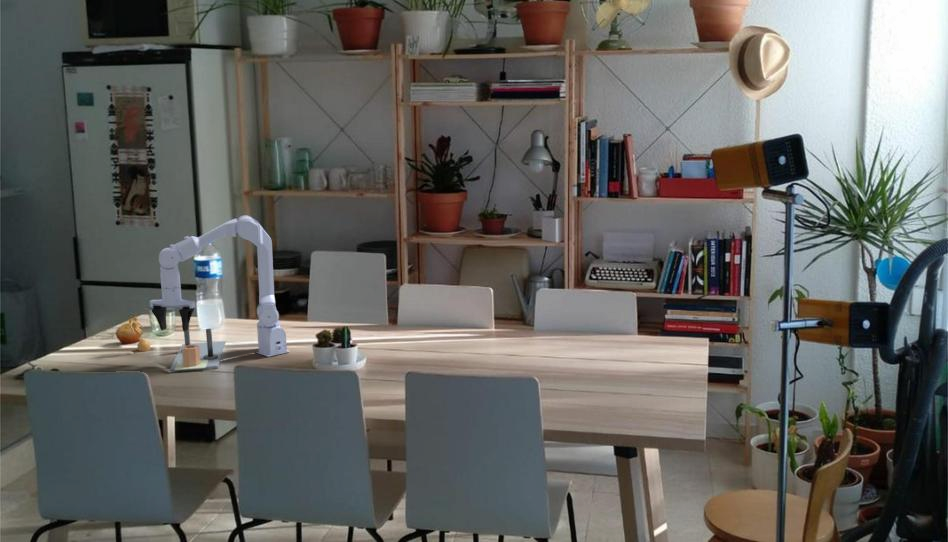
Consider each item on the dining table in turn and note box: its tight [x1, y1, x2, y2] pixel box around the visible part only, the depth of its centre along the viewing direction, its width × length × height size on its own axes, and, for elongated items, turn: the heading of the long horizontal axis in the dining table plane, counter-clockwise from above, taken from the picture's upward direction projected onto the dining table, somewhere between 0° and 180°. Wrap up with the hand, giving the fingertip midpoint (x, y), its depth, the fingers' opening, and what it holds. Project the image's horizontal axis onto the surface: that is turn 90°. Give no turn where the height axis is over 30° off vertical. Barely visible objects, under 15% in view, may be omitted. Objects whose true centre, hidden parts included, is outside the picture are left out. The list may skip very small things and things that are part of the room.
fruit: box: [115, 322, 142, 346], centre depth 341 cm, size 8×8×8 cm
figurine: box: [128, 316, 151, 352], centre depth 328 cm, size 8×6×12 cm
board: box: [169, 340, 227, 373], centre depth 322 cm, size 30×14×1 cm, turn 9°
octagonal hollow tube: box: [180, 345, 201, 367], centre depth 309 cm, size 5×5×6 cm
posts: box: [181, 327, 218, 360], centre depth 321 cm, size 17×4×9 cm, turn 47°
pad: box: [174, 359, 208, 370], centre depth 310 cm, size 9×9×1 cm
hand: (174, 329), depth 316 cm, fingers open, 7 cm apart
